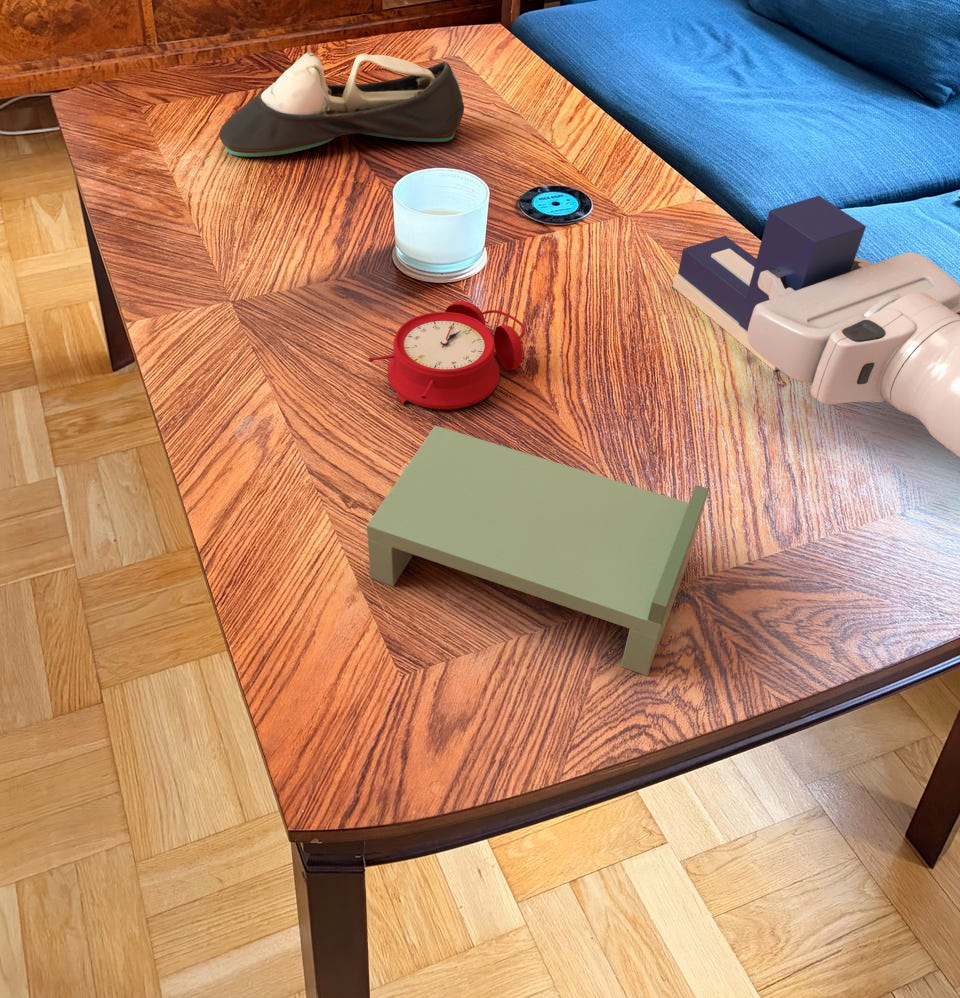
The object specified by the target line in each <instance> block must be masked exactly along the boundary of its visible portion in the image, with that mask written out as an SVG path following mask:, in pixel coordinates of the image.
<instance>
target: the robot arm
mask: <svg viewBox="0 0 960 998" xmlns="http://www.w3.org/2000/svg"><path fill="white" fill-rule="evenodd" d="M785 276H786V275H784V274H783V273H782V272H780V271H778V270H777V269H776V268H772V269H769V270H766V271H762V272H761V273H760V276H759V280H758V287H759V288H760V289H761V290H762V291H764V292H765V293H766V294H767V295H769V300H768V301H765V302H761V303H759V304H757V305H756V306H755V308H754V310H753V313H752V316H751V319H750V323H749V327H748V341H749V344H750V345H751V346H752V347H753V349H754V350H756V351H757V352H758V353H759V354H760V355H761V356H762V357H764V358H765V359H766V360H767V361H768V362H770V363H771V364H772V365H774V366H775V367H776V368H778V370H779V371H780V372H782V373H783V374H784V375H785V376H787V377H789V378H791V379H793V380H794V381H797V382H800V383H804V384H812V385H811V387H810V394H811V395H812V397H813V398H814V399H815V400H817V401H818V402H819V403H821V404H824V405H837V404H846V403H855V402H856V403H860V402H866V403H867V402H871V403H882V402H885V401H886V402H888V404H889V405H891V406H892V407H894V408H895V409H896V410H898V411H899V412H902V413H904V414H906V415H909V416H912V417H914V418H916V419H917V420H918V421H919V422H921V424H923V426H924V427H925V429H926V430H927V431H928V433H929V434H930V435H931V437H933V438H934V439H935V441H937V442H939V443H940V445H943V446H944V447H945V448H946V449H947V450H949V451H951V452H952V453H953V454H954V455H956V456H957V457H958V458H960V284H959V283H958V282H957V281H956V280H955V279H954V278H953V277H952V276H951V275H950V274H948V273H947V272H946V271H944V269H942V268H941V267H939V266H938V265H937V264H936V263H934V261H932V260H930V259H929V258H928V257H926V256H925V255H922V254H919V253H915V252H912V251H908V252H903V253H900V254H898V255H895V256H892V257H888V258H886V259H883V260H880V261H878V262H874V263H873V262H871V261H870V260H868V259H865V258H860V257H855V259H854V262H853V265H852V268H851V271H850V272H848V273H845V274H842V275H840V276H837V277H834V278H831V279H828V280H825V281H822V282H819V283H817V284H814V285H811V286H808V287H805V288H802V289H799V290H796V291H795V290H793V289H792V288H786V289H785V288H784V286H783V283H784V280H785Z"/></svg>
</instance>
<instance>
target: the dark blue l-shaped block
mask: <svg viewBox="0 0 960 998" xmlns="http://www.w3.org/2000/svg"><path fill="white" fill-rule="evenodd" d="M866 229H867V226H866V225H865V224H863V223H862V222H861V221H859V220H857V219H856V218H854V216H851V215H849V214H848V213H846V212H845V211H844V210H842V209H840V208H839V207H838V206H835V205H834V204H833V203H831V202H830V201H828V200H826V199H825V198H824V197H822V196H820V195H817V196H813V197H809V198H806V199H803V200H799V201H796V202H792V203H790V204H786V205H783V206H779V207H776V208H773V209H770V210H769V211H768V216H767V219H766V222H765V226H764V230H763V234H762V238H761V242H760V245H759V248H758V253H757V256H756V257H754V256H753V255H752V254H751V253H750V252H748V251H747V250H745V249H744V248H743V247H741V246H740V245H739V244H737V243H736V242H734V241H733V240H732V239H731V238H729V237H728V236H726V235H722V236H719V237H717V238H713V239H710V240H705V241H703V242H699V243H697V244H693V245H690V246H687V247H684V248H682V251H681V252H682V253H681V258H680V261H679V266H678V271H677V273H676V274H674V277H673V282H672V287H673V288H674V289H675V290H676V291H677V292H679V293H680V295H682V296H683V297H684V298H686V299H687V300H688V301H689V302H690V303H691V304H693V305H694V306H696V308H697V309H698V310H700V311H701V312H702V313H703V314H705V316H707V317H708V318H710V319H711V320H712V321H713V322H714V323H716V324H717V325H718V326H720V327H721V328H722V329H723V330H724V331H725V332H727V333H728V334H729V335H730V336H731V337H733V338H734V339H735V340H736V341H738V342H739V343H740V344H741V345H742V346H743V347H745V348H746V349H747V350H748V351H749V352H751V353H752V354H753V355H754V356H755V357H757V358H758V359H759V360H760V361H762V362H763V363H764V364H765V365H767V366H768V367H769V368H770V369H771V370H772V371H774V372H776V371H778V370H779V369H778V368H776V367H775V366H774V365H772V364H771V363H770V362H768V361H767V360H766V359H765V358H764V357H762V356H761V355H760V354H759V353H758V352H757V351H756V350H754V349H753V347H752V346H751V345H750V344H749V341H748V327H749V323H750V319H751V316H752V313H753V310H754V308H755V306H756V305H757V304H759V303H761V302H765V301H768V300H769V295H767V294H766V293H765V292H764V291H762V290H761V289H760V288H759V287H758V280H759V276H760V273H761V272H762V271H766V270H769V269H772V268H776V269H777V270H778V271H780V272H782V273H783V274H784V275H786V276H785V280H784V283H783V286H784V288H785V289H786V288H792V289H793V290H795V291H796V290H799V289H802V288H805V287H808V286H811V285H814V284H817V283H819V282H822V281H825V280H828V279H831V278H834V277H837V276H840V275H842V274H845V273H848V272H850V271H851V268H852V265H853V262H854V259H855V257H856V256H857V254H858V250H859V248H860V246H861V242H862V239H863V236H864V234H865V231H866ZM856 258H857V257H856Z"/></svg>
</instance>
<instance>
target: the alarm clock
mask: <svg viewBox="0 0 960 998" xmlns="http://www.w3.org/2000/svg"><path fill="white" fill-rule="evenodd" d="M486 314H499V315H502V316H505V317H507V318H509V319H511V320H513V321H514V322H515V323H517V324H518V325H519V326H520V327H521V330H522V331H521V333H520V334H518V332H517V331H516V330H515V329H514V328H513V327H512V326H510V325H508V324H501V325H498V326H496V327H495V329H494V332H493V331H491V330H490V329H489V328H488V327H487V325H486V319H485V316H484V315H486ZM493 333H494V334H493ZM525 333H526V327H525V325H524V324H523V322H521V321H520V320H519V319H518V318H516V317H514V316H513V315H511V314H509V313H506V312H504V311H502V310H497V309H493V310H492V309H490V310H484V311H482V310H481V308H479V306H476V305H475V304H473V302H469V301H465V300H458V301H454V302H452V303H450V304H449V305H448V306H447V307H446V309H445V311H436V312H435V311H434V312H429V313H423V314H420V315H417V316H415V317H412V318H410V319H408V320H407V321H405V322H404V323H403V324H402V325H400V327H399V328H398V330H397V331H396V333H395V336H394V339H393V343H392V345H393V346H392V348H393V354H389V355H387V354H386V355H382V356H377V357H372V356H370V357H369V356H368V361H369V362H370V363H372V362H373V361H379V360H389V362H388V365H387V378H388V381H389V384H390V386H391V387H392V389H393V390H394V391H395V392H396V394H398V395H397V396H396V401H397V402H399V403H400V404H402V405H405V402H406V401H408V402H410V403H412V404H415V405H418V406H420V407H424V408H428V409H435V410H455V409H463V408H467V407H469V406H472V405H475V404H478V403H479V402H482V401H484V400H485V399H486V398H487V397H489V396H490V395H491V394H492V393H493V392H494V391H495V390H496V388H497V386H498V384H499V381H500V373H501V371H500V370H501V369H500V365H501V366H502V367H503V369H505V370H506V371H514V370H517V368H518V367H519V366H520V365H521V364H522V360H523V353H524V352H523V345H524V341H522V340H521V339H522V338H523V337H524V335H525ZM495 354H496V357H497V359H498V361H497V359H496V357H495ZM499 363H500V364H499Z"/></svg>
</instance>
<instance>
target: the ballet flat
mask: <svg viewBox="0 0 960 998" xmlns="http://www.w3.org/2000/svg"><path fill="white" fill-rule="evenodd" d="M364 62H365V63H366V62H367V63H371V64H373V65H376V66H378V67H381V68H383V69H385V70H389V71H391V72H396V73H400V74H402V75H403V74H404V75H407V76H403V77H400V78H395V79H390V80H384V81H382V80H381V81H377V82H376V81H375V82H367V83H359V84H356V83H357V82H356V81H357V75H358V72H359V68H360V66H361V65H362V64H363V63H364ZM464 112H465V103H464V99H463V94H462V91H461V88H460V85H459V82H458V80H457V77H456V75H455V73H454V71H453V70H452V67H451V65H450V64H449V63H448V62H447V61H442V62H439V63H437V64H434V65H433V66H429V67H427V68H425V67H423V66H420V65H418V64H416V63H414V62H412V61H409V60H406V59H403V58H400V57H395V56H392V55H386V54H367V53H361V54H358V55H357V56H356V57H355V59H354V61H353V65H352V67H351V70H350V73H349V76H348V79H347V81H346V83H345V84H327V83H326V77H325V71H324V66H323V62H322V61H321V59H320V58H319V56H317V55H316V54H315V53H313V52H312V51H308V52H306V53H304V54H303V55H301V56H300V57H299V58H298V59H297V60H296V61H295V62H294V63H293V64H292V65H291V66H290V67H289V68H287V69H286V70H284V72H283V73H282V74H281V75H280V76H279V77H278V78H277V79H276V81H275V82H273V83H272V84H271V85H269V86H266V87H265V88H263V89H262V90H260V91H259V92H258V93H257V94H256V96H254V97H253V98H252V99H250V100H249V101H248V102H247V103H245V104H244V105H243V106H241V107H240V108H238V110H237V111H236V112H234V113H233V114H232V115H231V116H230V117H229V118H228V120H227V121H225V122H224V124H223V125H222V127H221V128H220V130H219V133H218V138H219V140H220V141H221V143H222V144H223V146H224V148H225V150H226V152H227V153H229V154H230V155H233V156H236V157H245V158H246V157H247V158H248V157H249V158H252V157H253V158H255V157H256V158H257V157H271V156H272V157H273V156H281V155H285V154H292V153H296V152H300V151H305V150H308V149H312V148H315V147H318V146H321V145H325V144H327V143H329V142H331V141H333V140H334V139H335V138H337V137H340V136H344V135H345V136H347V135H354V134H357V135H358V134H362V135H367V136H373V137H380V138H388V139H394V140H403V141H410V142H421V143H422V142H424V143H446V142H449V141H451V140H453V139H454V137H455V133H456V131H457V129H458V128H459V126H460V124H461V121H462V119H463V117H464Z"/></svg>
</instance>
